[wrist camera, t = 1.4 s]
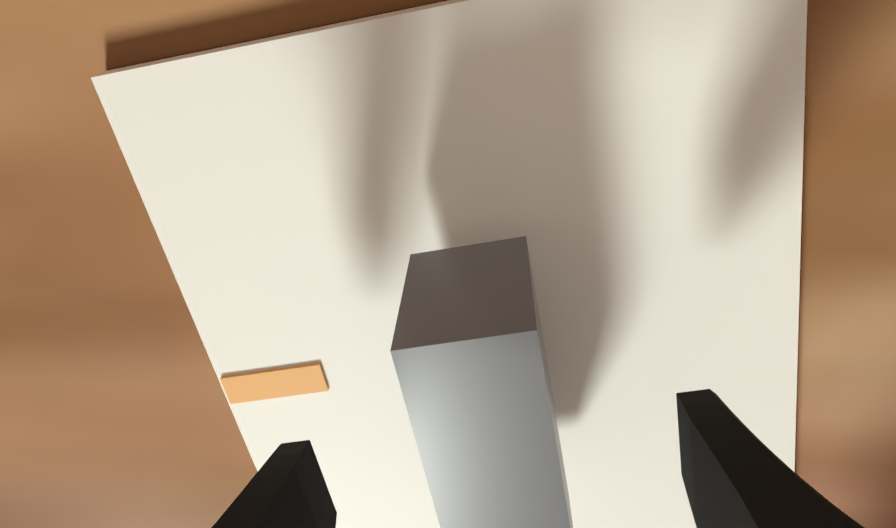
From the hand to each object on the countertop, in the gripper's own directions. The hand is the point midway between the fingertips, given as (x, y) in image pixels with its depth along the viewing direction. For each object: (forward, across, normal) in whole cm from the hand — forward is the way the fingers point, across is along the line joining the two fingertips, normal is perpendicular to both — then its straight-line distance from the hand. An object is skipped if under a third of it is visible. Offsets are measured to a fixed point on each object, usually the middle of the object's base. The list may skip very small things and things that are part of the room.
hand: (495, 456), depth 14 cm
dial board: (+4, 0, 0) cm, 4 cm away
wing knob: (+3, 0, 0) cm, 3 cm away
